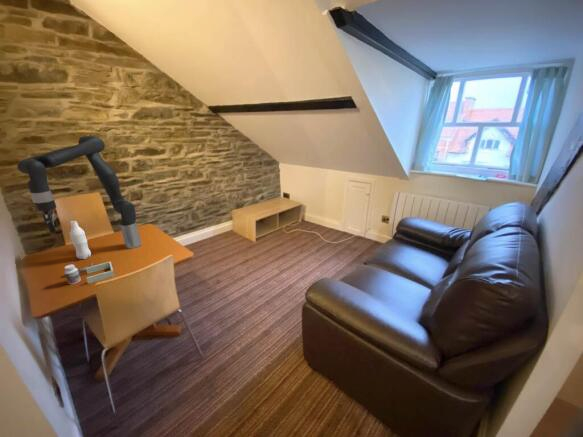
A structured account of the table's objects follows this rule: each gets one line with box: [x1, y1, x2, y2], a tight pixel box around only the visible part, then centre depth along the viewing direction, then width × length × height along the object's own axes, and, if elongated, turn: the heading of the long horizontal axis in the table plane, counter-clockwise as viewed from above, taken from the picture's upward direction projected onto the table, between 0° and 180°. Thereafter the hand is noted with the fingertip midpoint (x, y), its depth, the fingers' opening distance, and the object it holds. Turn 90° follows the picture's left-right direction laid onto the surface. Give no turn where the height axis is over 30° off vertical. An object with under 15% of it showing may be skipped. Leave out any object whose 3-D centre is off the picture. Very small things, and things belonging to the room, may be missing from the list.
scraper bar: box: [64, 262, 95, 278], centre depth 139 cm, size 13×6×3 cm, turn 130°
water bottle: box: [69, 220, 92, 260], centre depth 151 cm, size 7×7×25 cm
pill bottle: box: [64, 263, 82, 285], centre depth 130 cm, size 5×5×10 cm
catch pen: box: [86, 261, 116, 284], centre depth 138 cm, size 12×13×4 cm
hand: (54, 229), depth 127 cm, fingers open, 8 cm apart
